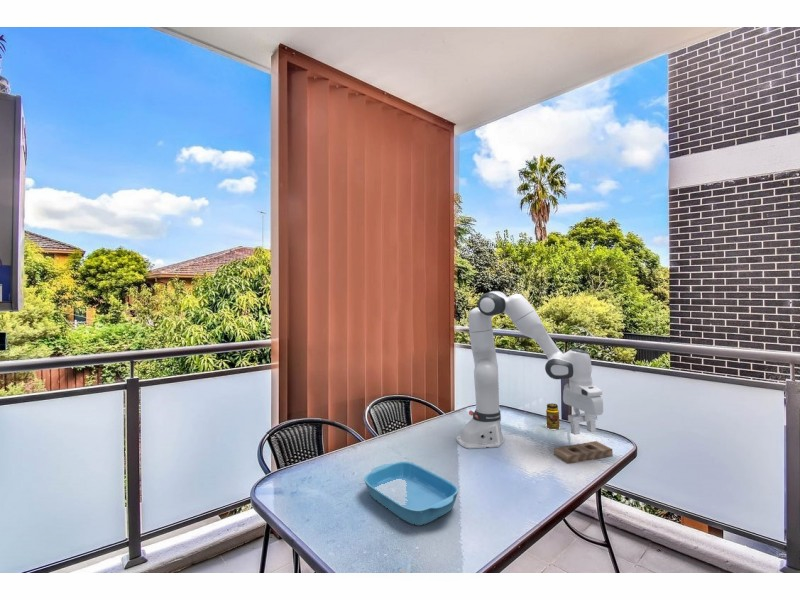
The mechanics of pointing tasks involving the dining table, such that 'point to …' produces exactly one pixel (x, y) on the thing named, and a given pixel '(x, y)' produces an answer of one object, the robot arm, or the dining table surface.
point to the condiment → (552, 416)
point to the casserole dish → (413, 491)
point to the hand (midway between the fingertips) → (582, 419)
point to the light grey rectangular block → (579, 418)
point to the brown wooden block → (582, 452)
